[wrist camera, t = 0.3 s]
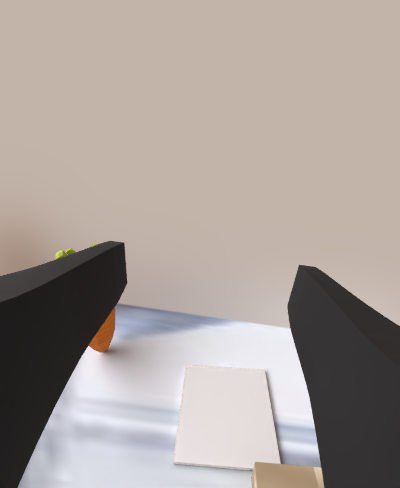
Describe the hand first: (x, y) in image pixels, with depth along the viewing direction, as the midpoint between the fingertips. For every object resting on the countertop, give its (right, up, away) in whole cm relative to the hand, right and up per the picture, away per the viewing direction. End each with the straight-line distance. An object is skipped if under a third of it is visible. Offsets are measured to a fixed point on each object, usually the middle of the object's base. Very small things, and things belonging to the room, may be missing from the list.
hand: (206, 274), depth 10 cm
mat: (+2, -15, +14) cm, 21 cm away
